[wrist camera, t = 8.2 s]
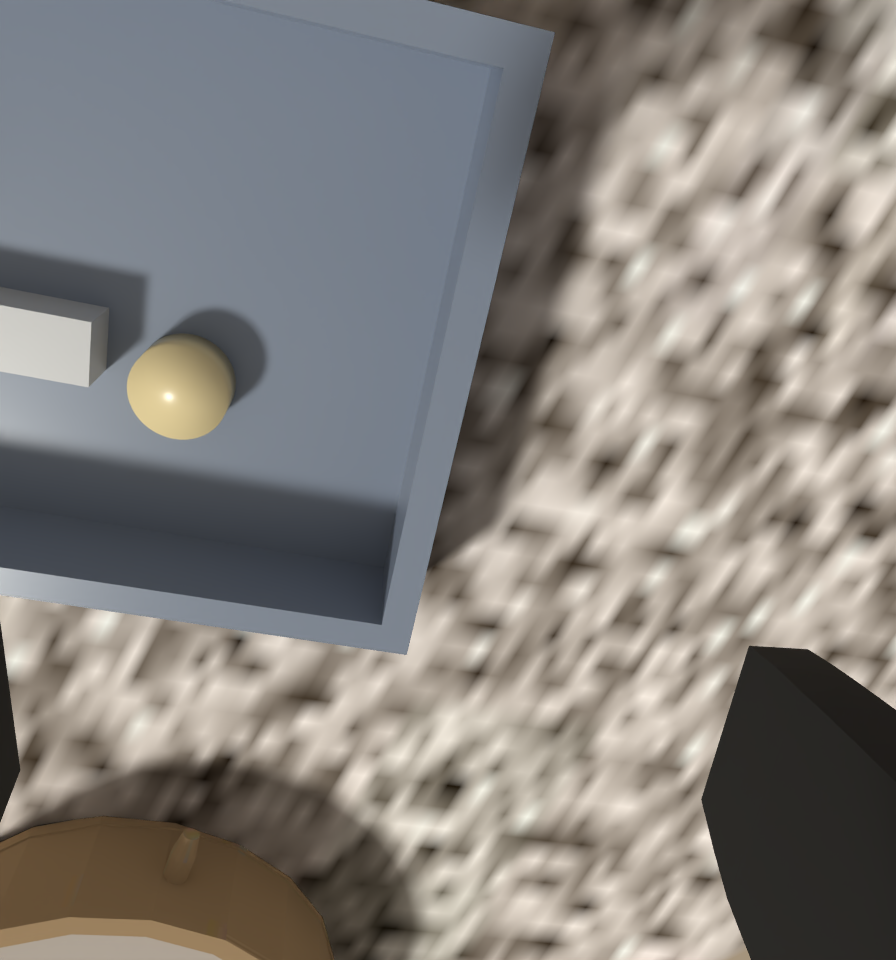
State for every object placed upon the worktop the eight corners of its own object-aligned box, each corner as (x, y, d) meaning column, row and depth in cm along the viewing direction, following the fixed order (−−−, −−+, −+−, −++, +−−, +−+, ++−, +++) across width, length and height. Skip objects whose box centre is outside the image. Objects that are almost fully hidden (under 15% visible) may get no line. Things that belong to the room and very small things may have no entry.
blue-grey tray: (531, 38, 14) (555, 32, 12) (406, 585, 19) (406, 654, 17) (-543, -229, 12) (-755, -296, 10) (-396, 458, 17) (-519, 518, 15)
